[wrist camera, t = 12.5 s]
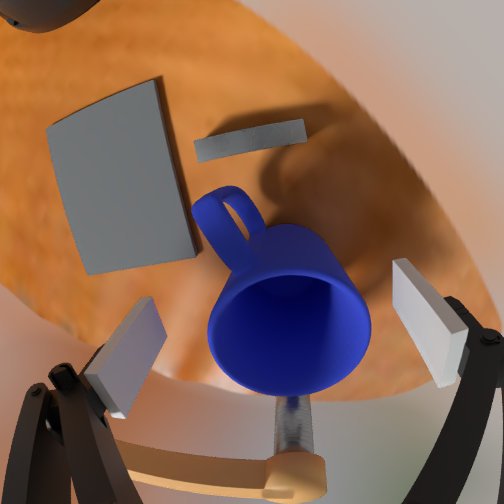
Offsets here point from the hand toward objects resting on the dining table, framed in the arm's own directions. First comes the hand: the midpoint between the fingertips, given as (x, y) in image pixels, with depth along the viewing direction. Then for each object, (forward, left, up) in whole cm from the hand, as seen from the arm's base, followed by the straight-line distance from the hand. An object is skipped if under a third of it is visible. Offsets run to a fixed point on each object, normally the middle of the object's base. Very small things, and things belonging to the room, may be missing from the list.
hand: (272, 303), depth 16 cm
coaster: (-7, -11, -8) cm, 16 cm away
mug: (0, 0, -8) cm, 8 cm away
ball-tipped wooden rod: (+7, -8, +5) cm, 12 cm away
